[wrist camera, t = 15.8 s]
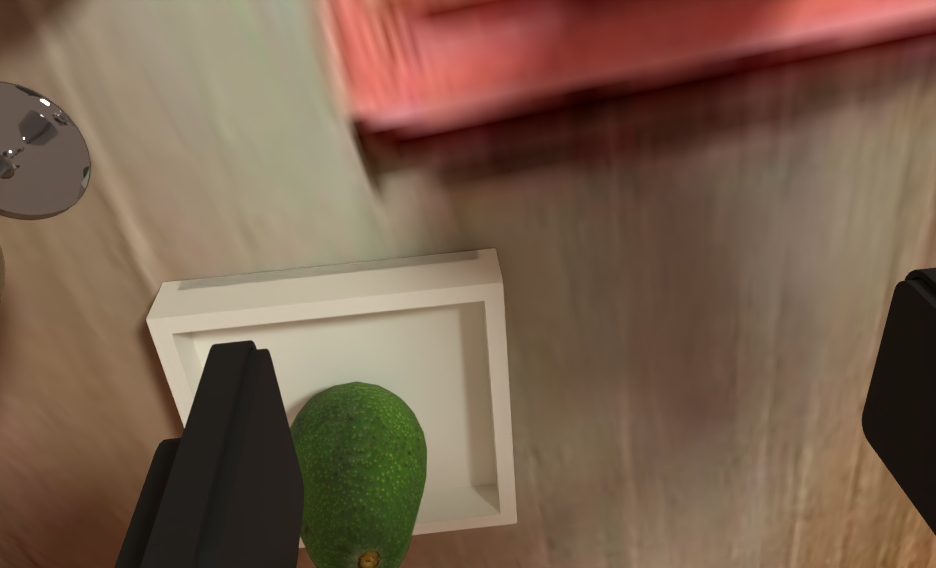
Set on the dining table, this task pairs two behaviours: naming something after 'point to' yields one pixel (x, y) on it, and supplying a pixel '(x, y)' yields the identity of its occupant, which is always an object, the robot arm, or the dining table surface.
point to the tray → (373, 358)
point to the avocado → (359, 475)
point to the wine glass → (38, 158)
